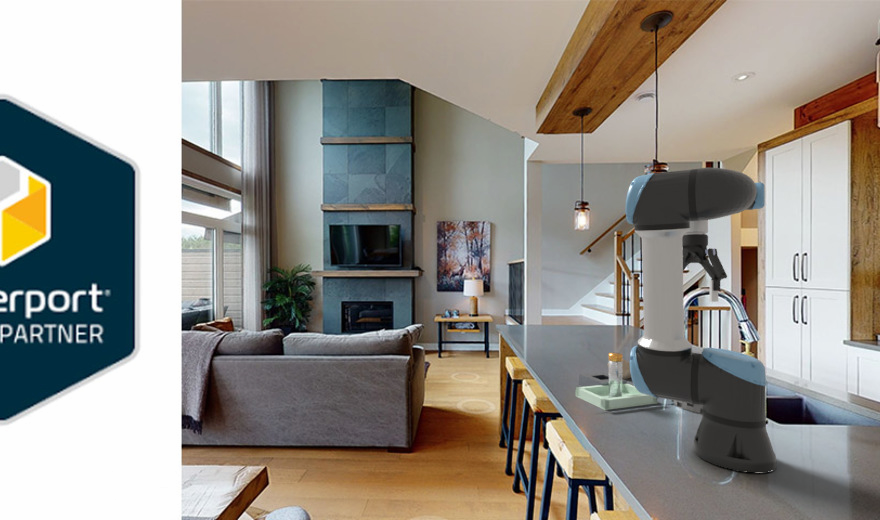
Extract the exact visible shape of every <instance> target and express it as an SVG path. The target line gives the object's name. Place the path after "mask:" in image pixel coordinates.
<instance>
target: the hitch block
mask: <svg viewBox="0 0 880 520" xmlns="http://www.w3.org/2000/svg"><path fill="white" fill-rule="evenodd" d="M623 383H627V384H628V381H627V379H622V384H623ZM578 385H581V387H586V386H596V385H602V386H604V385H609V373H606V372H604V371H598V372H597V371H596V372H588V373H579V374H578Z"/></svg>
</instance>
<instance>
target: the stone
mask: <svg viewBox="0 0 880 520" xmlns="http://www.w3.org/2000/svg"><path fill="white" fill-rule="evenodd" d="M607 367H608V369H609V361H608V362H607ZM630 378H631V373H630V361H627V360H626V359H625V358H623V361H622V379H623V380H627V379H630Z"/></svg>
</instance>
